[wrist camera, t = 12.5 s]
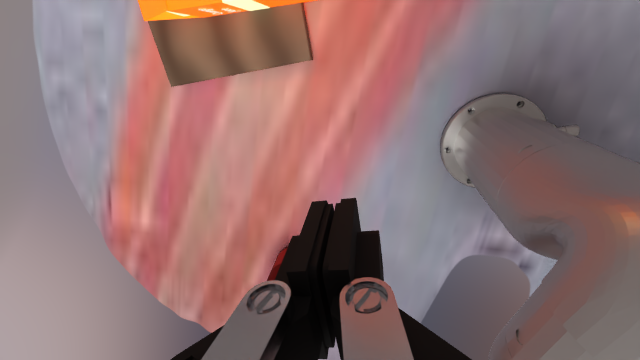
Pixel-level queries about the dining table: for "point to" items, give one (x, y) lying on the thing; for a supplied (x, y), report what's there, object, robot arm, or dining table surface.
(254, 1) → the orange juice
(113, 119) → the dining table surface
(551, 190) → the robot arm
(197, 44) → the walnut board
